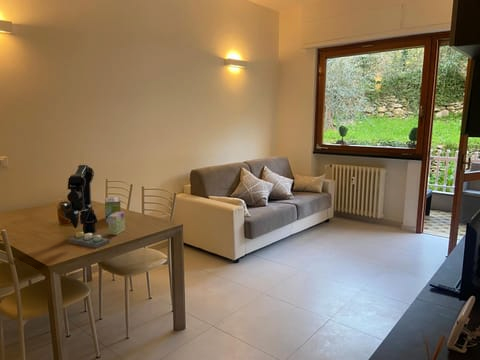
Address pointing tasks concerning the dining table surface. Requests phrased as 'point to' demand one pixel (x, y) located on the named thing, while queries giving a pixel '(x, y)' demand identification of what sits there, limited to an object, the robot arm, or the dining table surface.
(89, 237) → the cream button
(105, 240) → the button panel
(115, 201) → the tea box
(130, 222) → the dining table surface
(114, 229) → the box
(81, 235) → the mustard button
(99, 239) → the sage button
